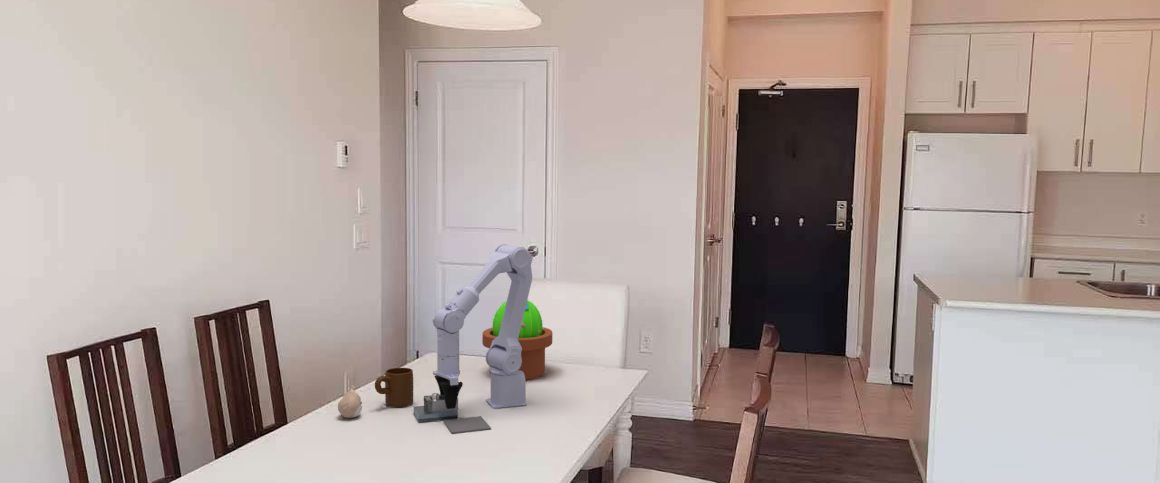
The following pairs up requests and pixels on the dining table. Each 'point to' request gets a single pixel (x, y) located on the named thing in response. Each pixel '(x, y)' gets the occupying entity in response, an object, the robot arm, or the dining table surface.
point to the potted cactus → (525, 339)
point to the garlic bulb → (350, 404)
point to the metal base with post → (433, 413)
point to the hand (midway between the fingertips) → (448, 405)
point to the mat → (466, 425)
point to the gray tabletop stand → (437, 404)
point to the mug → (396, 387)
